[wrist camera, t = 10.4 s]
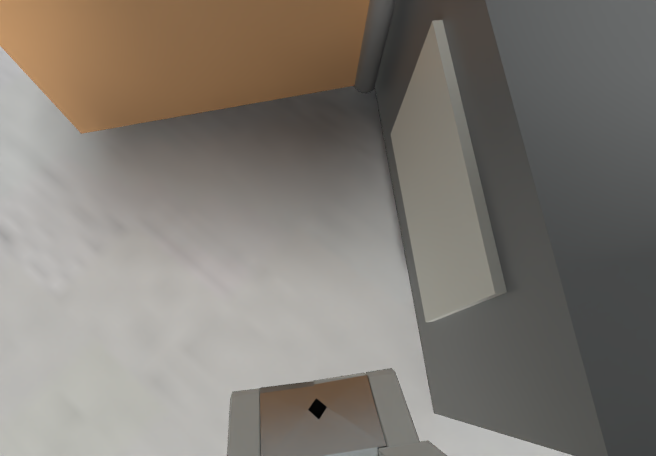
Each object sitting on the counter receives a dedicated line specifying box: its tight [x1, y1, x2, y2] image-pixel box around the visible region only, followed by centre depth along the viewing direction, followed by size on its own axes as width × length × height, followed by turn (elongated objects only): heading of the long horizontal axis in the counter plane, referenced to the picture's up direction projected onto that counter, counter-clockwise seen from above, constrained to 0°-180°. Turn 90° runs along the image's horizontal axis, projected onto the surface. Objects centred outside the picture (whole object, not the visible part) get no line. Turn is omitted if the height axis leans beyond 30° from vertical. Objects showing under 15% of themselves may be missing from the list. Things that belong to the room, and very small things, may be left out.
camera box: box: [375, 0, 656, 456], centre depth 17 cm, size 12×18×12 cm
